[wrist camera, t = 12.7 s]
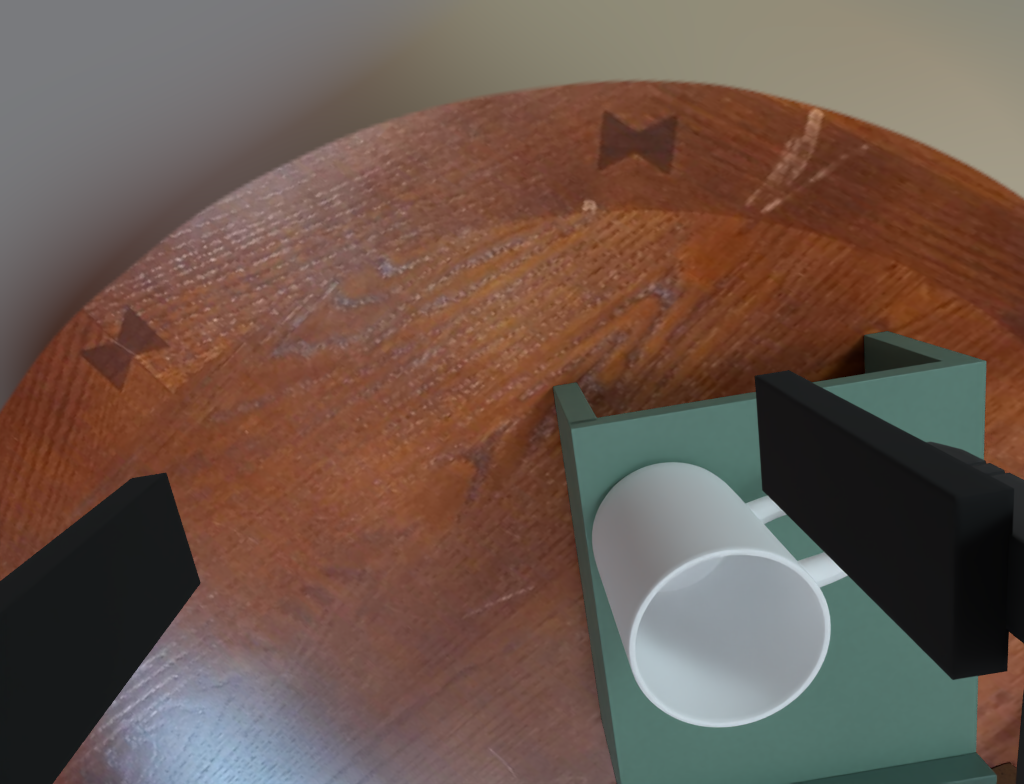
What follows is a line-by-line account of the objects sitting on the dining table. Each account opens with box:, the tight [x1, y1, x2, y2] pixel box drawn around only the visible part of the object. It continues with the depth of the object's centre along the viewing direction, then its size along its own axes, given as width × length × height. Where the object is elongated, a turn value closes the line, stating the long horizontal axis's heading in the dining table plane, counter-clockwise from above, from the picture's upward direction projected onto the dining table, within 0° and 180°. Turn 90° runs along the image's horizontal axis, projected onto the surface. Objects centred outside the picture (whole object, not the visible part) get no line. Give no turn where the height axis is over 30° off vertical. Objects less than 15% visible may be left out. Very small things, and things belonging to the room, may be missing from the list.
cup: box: [592, 462, 848, 728], centre depth 33 cm, size 8×12×10 cm
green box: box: [553, 331, 997, 784], centre depth 43 cm, size 26×22×11 cm
